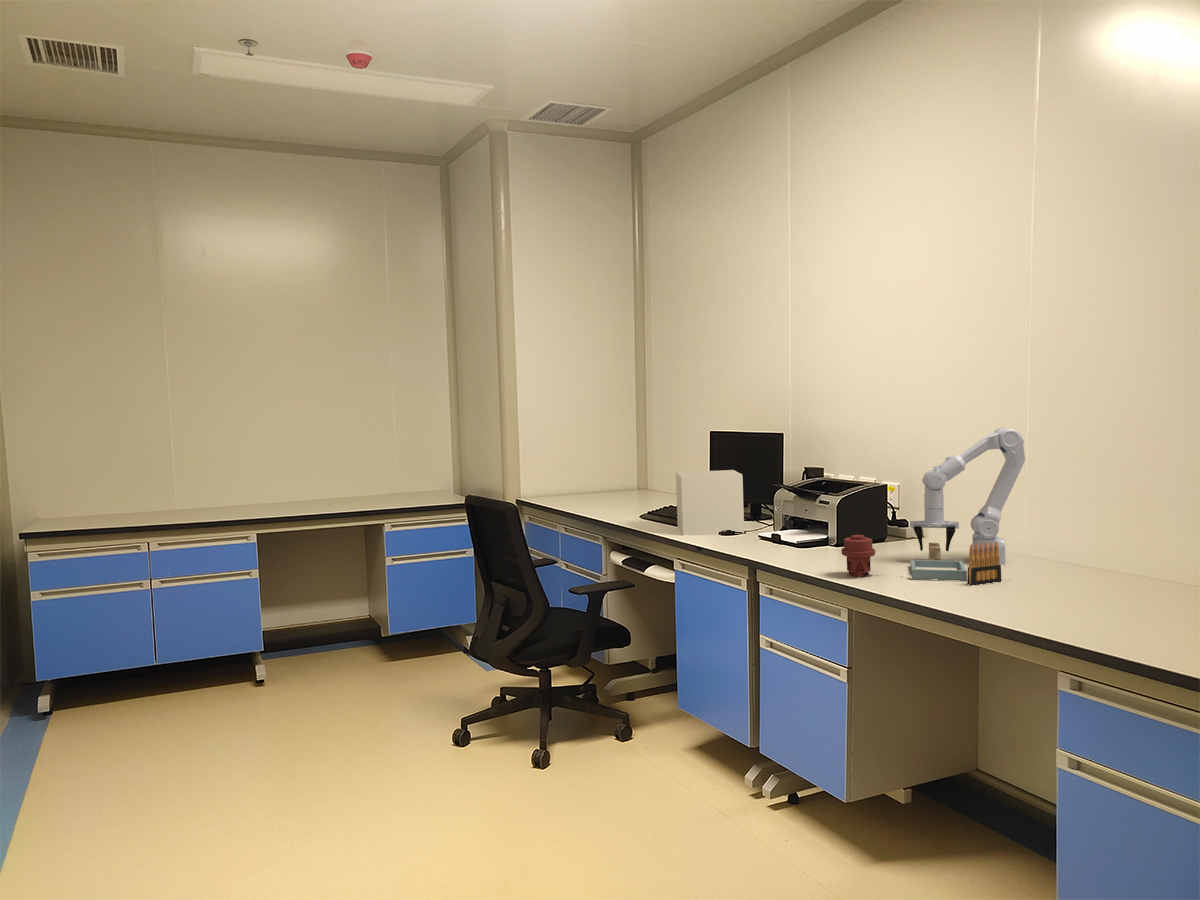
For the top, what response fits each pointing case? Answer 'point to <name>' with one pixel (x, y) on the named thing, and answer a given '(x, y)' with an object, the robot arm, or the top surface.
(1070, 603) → the top surface
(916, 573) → the bin
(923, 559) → the mounting plate
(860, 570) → the mechanical component
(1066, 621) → the top surface
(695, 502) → the cube
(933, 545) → the wooden block
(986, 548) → the ammunition clip
